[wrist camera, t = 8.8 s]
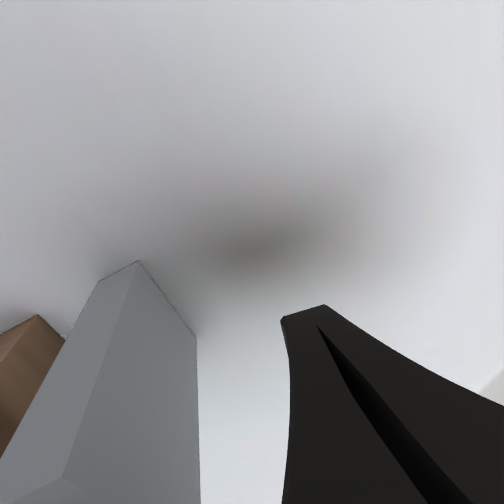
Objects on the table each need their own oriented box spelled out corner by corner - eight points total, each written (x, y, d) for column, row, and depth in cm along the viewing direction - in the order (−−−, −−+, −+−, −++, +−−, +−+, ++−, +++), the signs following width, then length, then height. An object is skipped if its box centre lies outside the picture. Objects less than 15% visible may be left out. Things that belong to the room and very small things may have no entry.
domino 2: (161, 356, 16) (130, 610, 8) (98, 281, 14) (-38, 526, 6) (196, 338, 16) (202, 575, 8) (138, 260, 14) (61, 476, 5)
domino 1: (75, 401, 16) (-43, 697, 8) (-2, 335, 14) (-275, 649, 6) (109, 383, 16) (25, 663, 8) (38, 314, 14) (-183, 601, 6)
